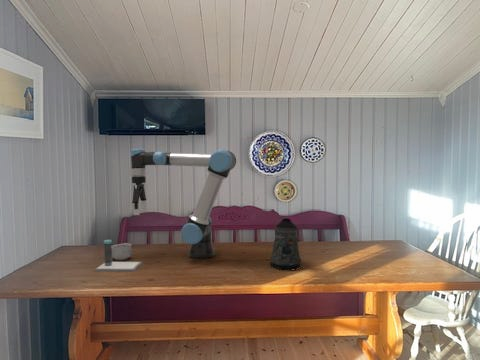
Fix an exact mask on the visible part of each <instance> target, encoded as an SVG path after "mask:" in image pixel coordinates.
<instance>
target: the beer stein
mask: <svg viewBox="0 0 480 360" xmlns="http://www.w3.org/2000/svg"><path fill="white" fill-rule="evenodd" d="M273 230H274V232H275V233H274V234H275V236H274V242H273V248H272V251H271V255H270V258H269V263H270V267H271V268H272V267H273V268H272V269H274V268H276V269H281V270H292V269H297V268H299V267H300V268H301V264H302V259H301V257H300V252H299V241H298V236H297V233H298V231H299V227H297V225H295V224H294V222H292V221H291V219H290V218H282V219H281V221H280V222H279V223H277V224H276V225H275V227H274V229H273ZM276 269H275V270H276ZM281 270H280V271H281ZM297 270H298V269H297ZM292 271H293V270H292Z"/></svg>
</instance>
